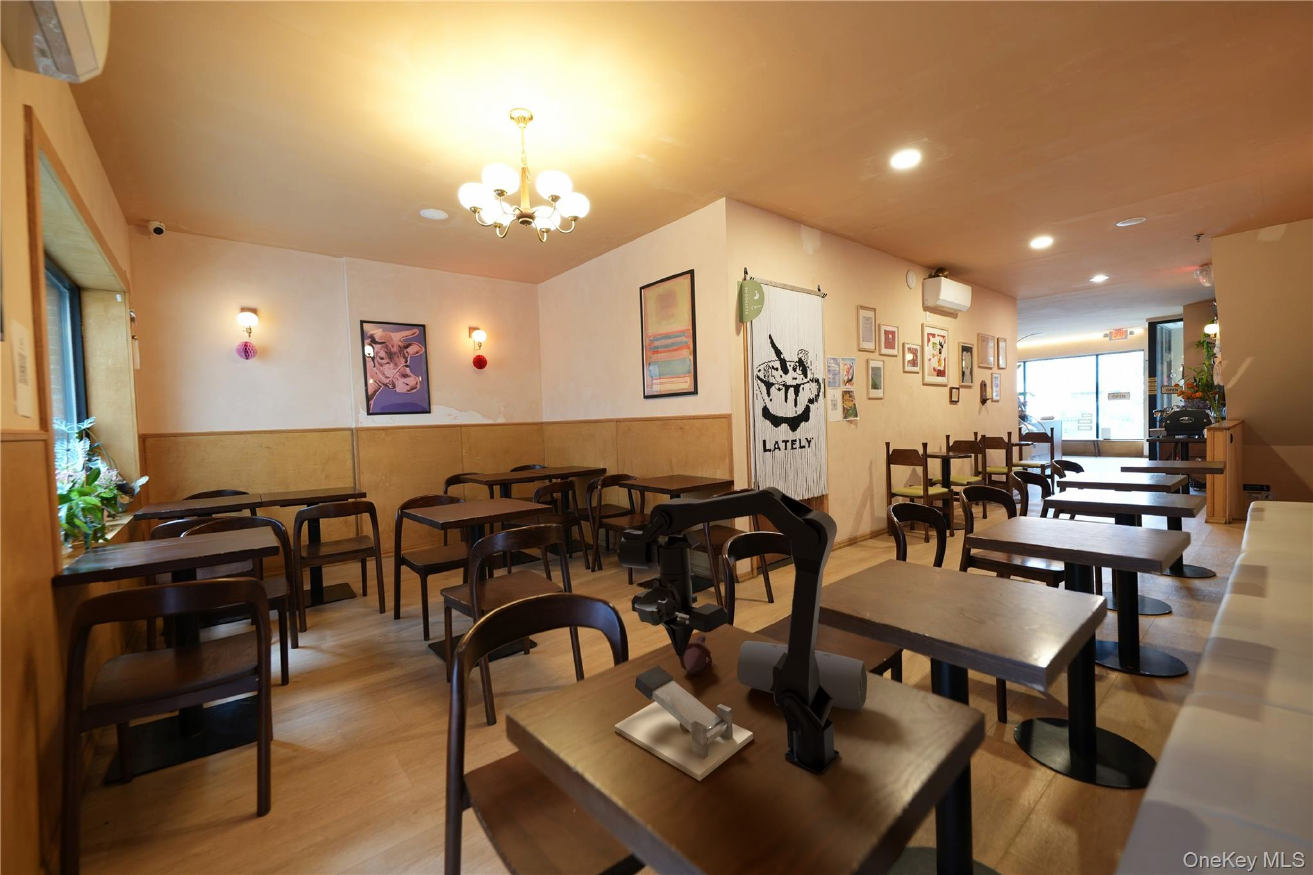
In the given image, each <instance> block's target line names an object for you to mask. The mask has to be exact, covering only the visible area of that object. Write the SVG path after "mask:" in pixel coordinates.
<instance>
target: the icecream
mask: <svg viewBox="0 0 1313 875" xmlns="http://www.w3.org/2000/svg"><path fill="white" fill-rule="evenodd" d="M706 638H707V637H706V635H704V634H699V635H698V637H697V638H696V640H694V641H691V642H690V641H689V643H688V646H687V648H686V651H685V654H684V655H683V656H681V657H680V656H677V657H678V659H679V662H680V666H681V668H682V669H683V670H684V671H686V672H687V674H690V675H698V676H699V675H700V676H702V675H705V673H707V671H708V670H709V669H711V668H712V664H713V659H712V656H711V653H712V651H711V650H710V649H709V648H708V646H707V645H706V644H705V643H706Z"/></svg>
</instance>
